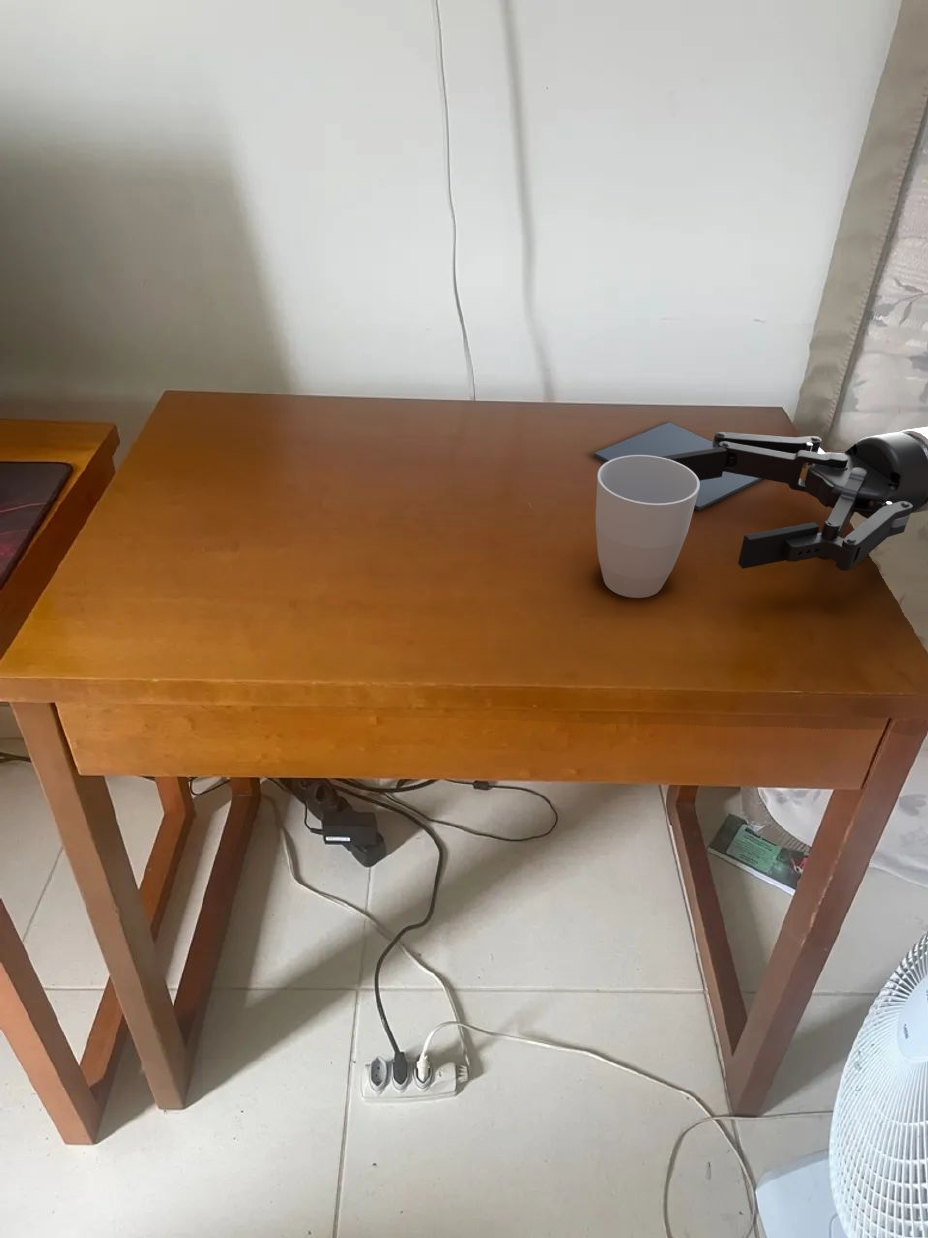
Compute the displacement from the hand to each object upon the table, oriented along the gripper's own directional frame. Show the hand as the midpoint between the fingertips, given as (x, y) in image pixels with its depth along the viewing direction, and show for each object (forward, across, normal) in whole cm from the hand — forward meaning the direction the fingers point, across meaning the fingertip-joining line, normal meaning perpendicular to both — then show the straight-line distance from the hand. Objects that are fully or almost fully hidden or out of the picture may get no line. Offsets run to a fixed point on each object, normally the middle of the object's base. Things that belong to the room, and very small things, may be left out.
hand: (698, 509), depth 83 cm
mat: (-10, +17, -6) cm, 20 cm away
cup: (+5, 0, -6) cm, 8 cm away
